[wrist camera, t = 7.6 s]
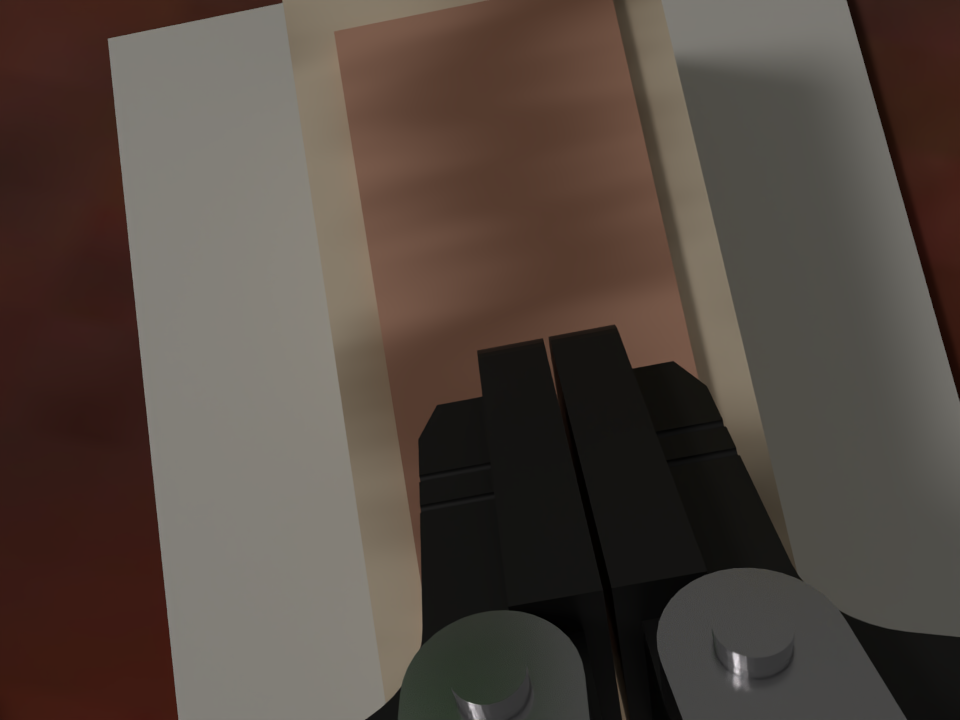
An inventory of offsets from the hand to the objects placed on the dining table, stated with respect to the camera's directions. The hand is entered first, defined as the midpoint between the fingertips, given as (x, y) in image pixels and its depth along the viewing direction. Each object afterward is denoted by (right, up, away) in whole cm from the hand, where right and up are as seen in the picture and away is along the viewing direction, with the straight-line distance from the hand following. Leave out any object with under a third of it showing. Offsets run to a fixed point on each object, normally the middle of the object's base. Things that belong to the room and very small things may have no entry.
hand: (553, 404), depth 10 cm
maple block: (+1, -6, +5) cm, 8 cm away
